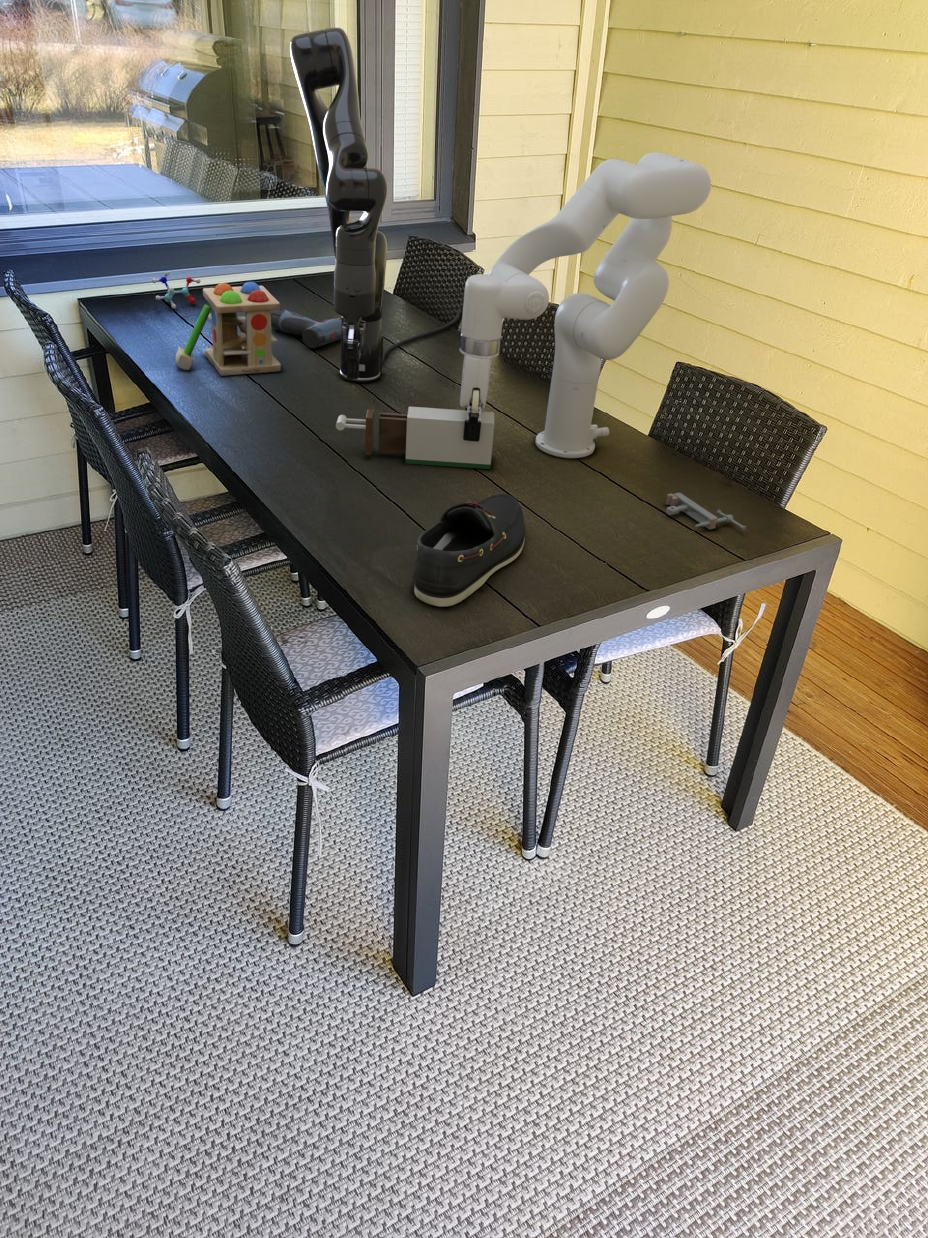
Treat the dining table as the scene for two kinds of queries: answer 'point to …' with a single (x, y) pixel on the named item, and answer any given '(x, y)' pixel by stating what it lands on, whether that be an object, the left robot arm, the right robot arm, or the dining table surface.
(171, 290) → the molecular model
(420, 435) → the cabinet
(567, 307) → the right robot arm
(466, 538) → the boat shoe
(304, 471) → the dining table surface
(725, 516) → the clamp
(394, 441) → the drawer
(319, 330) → the power drill
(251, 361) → the pounding bench toy
